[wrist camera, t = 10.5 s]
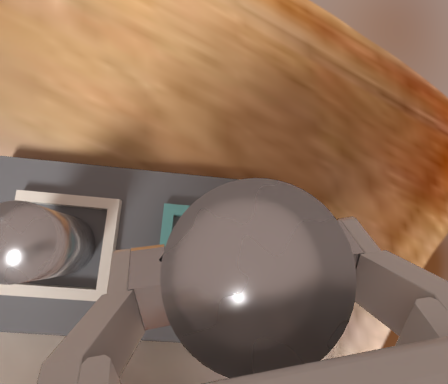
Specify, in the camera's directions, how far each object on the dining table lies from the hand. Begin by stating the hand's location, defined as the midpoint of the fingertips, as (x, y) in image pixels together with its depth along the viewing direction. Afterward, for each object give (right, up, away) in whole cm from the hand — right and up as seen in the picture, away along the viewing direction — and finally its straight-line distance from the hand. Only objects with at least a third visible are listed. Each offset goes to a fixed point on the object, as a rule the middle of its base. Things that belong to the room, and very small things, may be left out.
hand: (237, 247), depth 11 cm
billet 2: (0, -2, +5) cm, 5 cm away
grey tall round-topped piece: (-13, -2, +15) cm, 20 cm away
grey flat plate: (-7, -3, +17) cm, 19 cm away
